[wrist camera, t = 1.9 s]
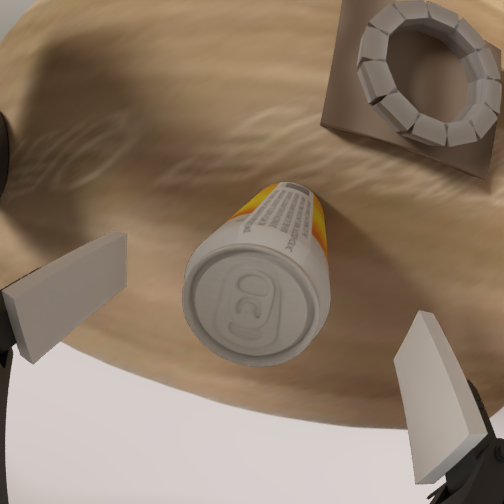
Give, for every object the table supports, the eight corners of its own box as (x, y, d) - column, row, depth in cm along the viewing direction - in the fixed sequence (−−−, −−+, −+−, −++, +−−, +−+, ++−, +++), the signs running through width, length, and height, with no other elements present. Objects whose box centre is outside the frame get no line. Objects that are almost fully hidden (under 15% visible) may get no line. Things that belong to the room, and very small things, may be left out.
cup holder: (320, 125, 22) (321, 118, 17) (342, -1, 17) (347, -32, 12) (471, 175, 20) (505, 186, 15) (488, 55, 15) (519, 43, 10)
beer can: (245, 242, 26) (170, 350, 13) (258, 173, 24) (177, 217, 10) (314, 259, 26) (305, 387, 12) (331, 190, 23) (353, 258, 9)
